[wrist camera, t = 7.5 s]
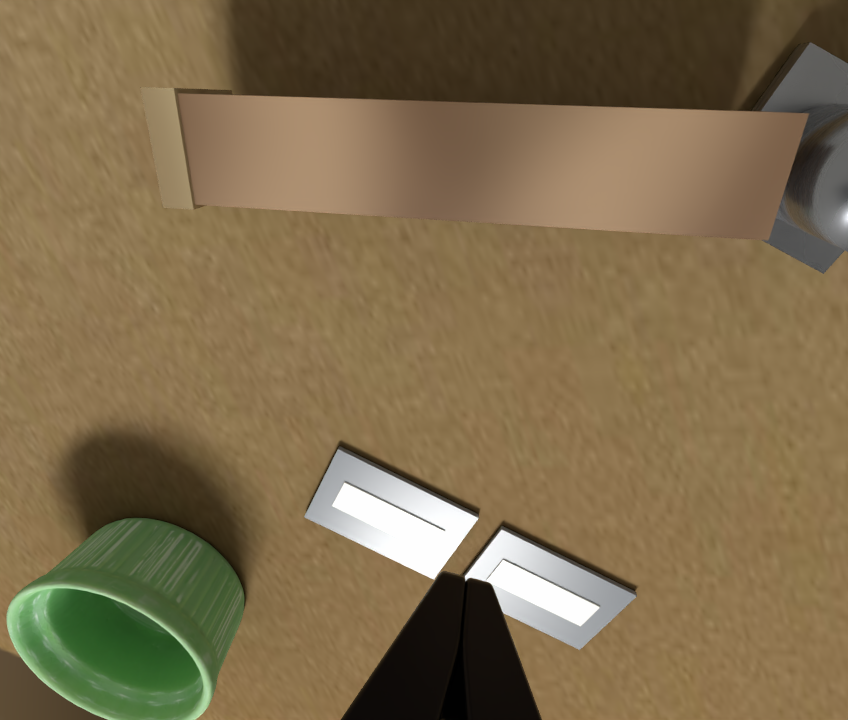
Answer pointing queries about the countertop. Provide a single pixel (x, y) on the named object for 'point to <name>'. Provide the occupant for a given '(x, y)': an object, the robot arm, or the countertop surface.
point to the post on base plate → (813, 157)
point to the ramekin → (131, 622)
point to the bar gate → (476, 161)
